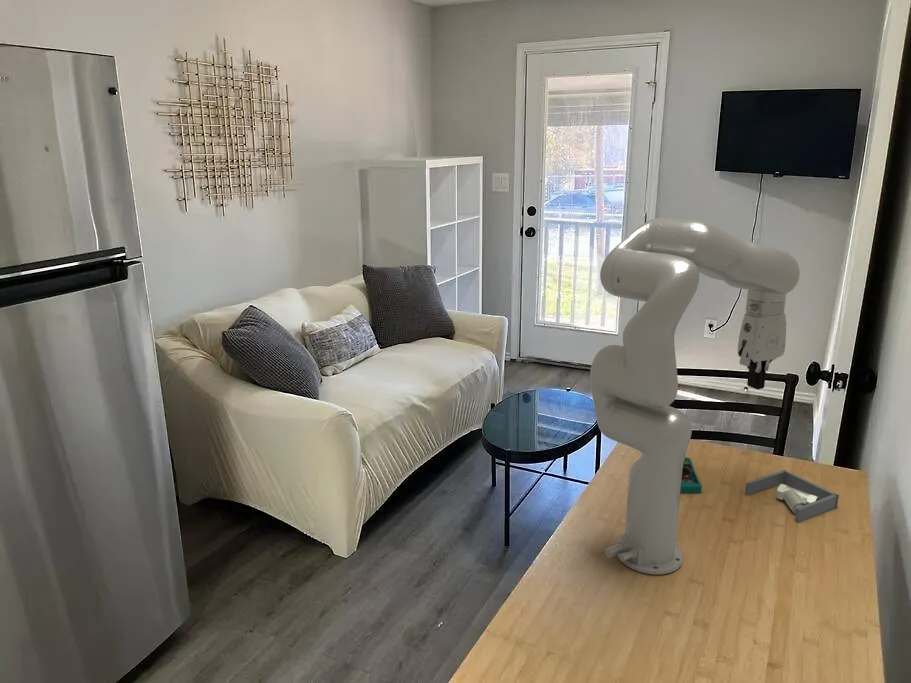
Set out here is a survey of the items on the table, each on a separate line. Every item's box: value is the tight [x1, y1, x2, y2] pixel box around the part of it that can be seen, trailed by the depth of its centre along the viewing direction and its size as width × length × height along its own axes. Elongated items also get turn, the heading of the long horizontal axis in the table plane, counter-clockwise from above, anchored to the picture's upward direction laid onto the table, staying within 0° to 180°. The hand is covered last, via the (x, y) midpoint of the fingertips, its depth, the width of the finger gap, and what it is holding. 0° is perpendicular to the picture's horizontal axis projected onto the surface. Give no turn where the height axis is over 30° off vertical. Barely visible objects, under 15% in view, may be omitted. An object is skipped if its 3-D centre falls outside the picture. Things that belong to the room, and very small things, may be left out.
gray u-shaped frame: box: [744, 469, 840, 523], centre depth 148 cm, size 13×14×3 cm
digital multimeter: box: [680, 456, 703, 495], centre depth 159 cm, size 7×15×3 cm, turn 171°
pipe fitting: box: [775, 483, 820, 515], centre depth 145 cm, size 8×4×7 cm
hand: (755, 387), depth 147 cm, fingers closed
